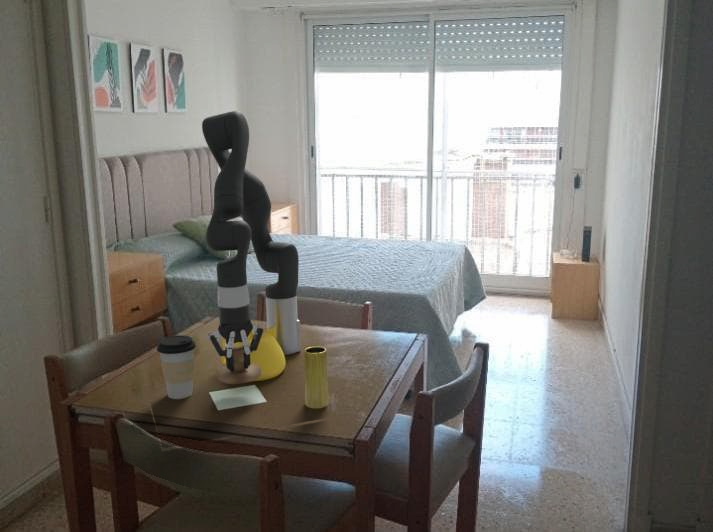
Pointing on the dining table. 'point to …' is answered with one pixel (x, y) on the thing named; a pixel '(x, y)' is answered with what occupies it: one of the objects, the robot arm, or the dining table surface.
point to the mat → (237, 397)
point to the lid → (238, 370)
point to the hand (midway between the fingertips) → (238, 368)
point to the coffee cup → (177, 365)
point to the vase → (316, 378)
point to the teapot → (265, 354)
